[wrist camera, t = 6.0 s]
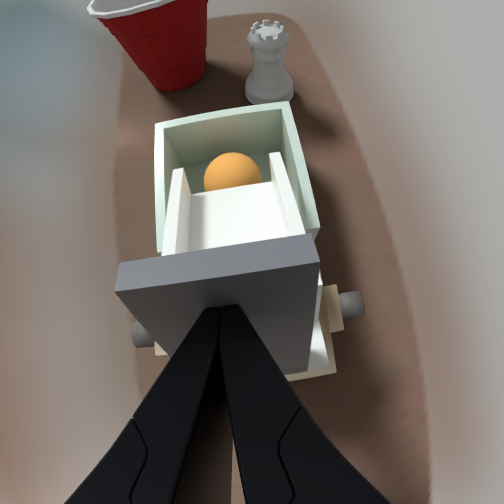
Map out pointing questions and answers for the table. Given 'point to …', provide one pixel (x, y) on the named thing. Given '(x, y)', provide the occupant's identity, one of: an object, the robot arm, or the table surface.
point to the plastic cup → (159, 37)
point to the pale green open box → (231, 140)
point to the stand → (330, 319)
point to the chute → (233, 269)
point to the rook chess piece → (268, 65)
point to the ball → (231, 172)
